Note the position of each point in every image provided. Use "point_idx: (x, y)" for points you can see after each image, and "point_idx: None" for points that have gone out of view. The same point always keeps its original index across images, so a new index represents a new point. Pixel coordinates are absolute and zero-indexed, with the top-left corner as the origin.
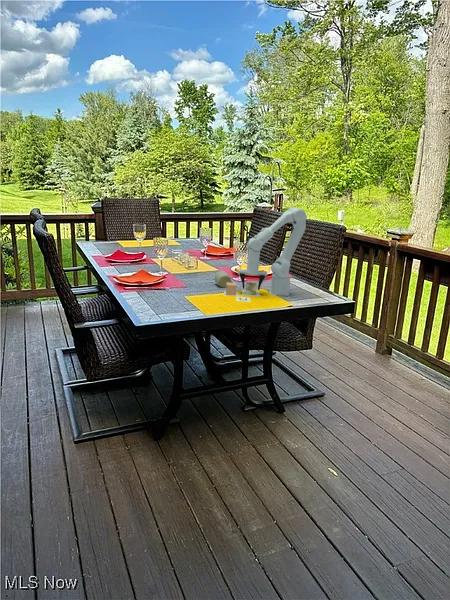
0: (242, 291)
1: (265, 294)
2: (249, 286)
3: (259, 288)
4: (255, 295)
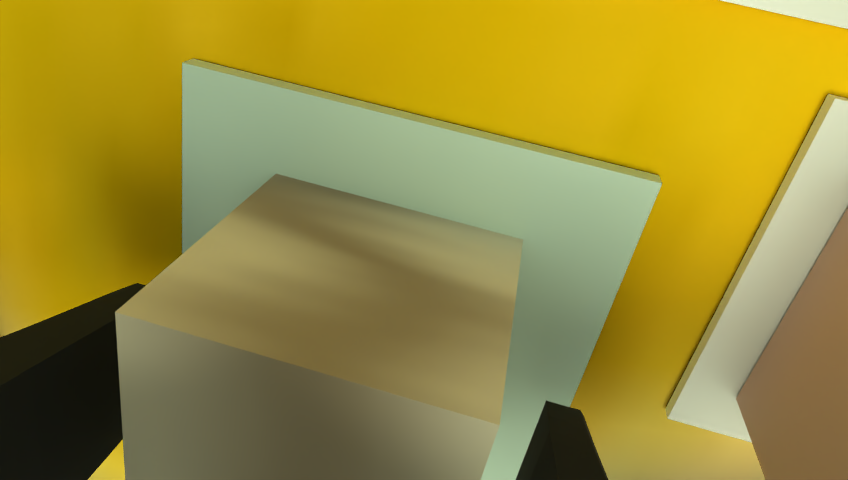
0: None
1: (72, 252)
2: (400, 349)
3: (104, 296)
4: (292, 133)
